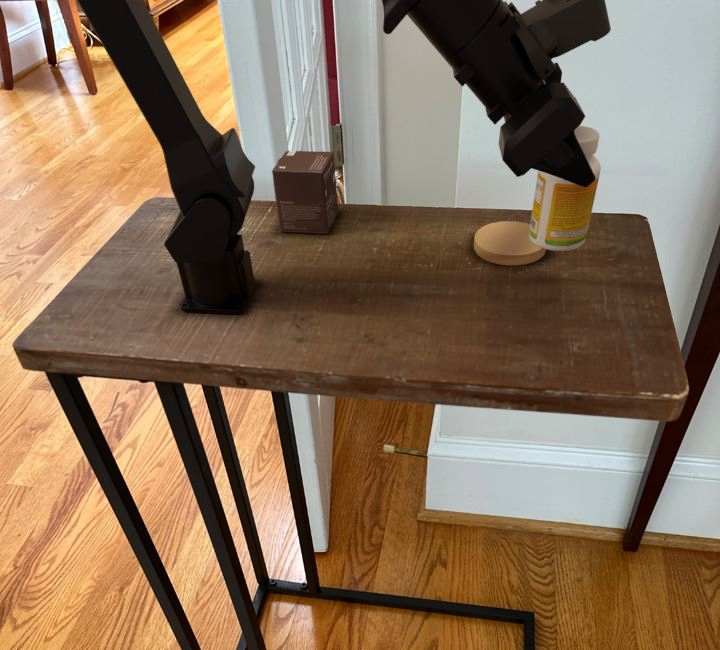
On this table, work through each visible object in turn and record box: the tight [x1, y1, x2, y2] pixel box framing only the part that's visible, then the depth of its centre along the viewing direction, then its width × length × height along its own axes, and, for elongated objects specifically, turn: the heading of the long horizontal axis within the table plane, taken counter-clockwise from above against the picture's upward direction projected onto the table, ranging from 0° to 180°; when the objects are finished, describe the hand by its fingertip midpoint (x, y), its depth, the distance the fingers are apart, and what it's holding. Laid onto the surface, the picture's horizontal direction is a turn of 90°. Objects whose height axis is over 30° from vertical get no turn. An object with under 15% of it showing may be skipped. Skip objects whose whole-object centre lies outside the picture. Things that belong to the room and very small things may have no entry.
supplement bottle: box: [529, 125, 602, 252], centre depth 63 cm, size 5×5×10 cm
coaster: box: [473, 220, 547, 266], centre depth 76 cm, size 8×8×1 cm
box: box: [271, 150, 339, 234], centre depth 81 cm, size 6×6×7 cm
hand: (584, 169), depth 61 cm, fingers closed on supplement bottle, 5 cm apart
